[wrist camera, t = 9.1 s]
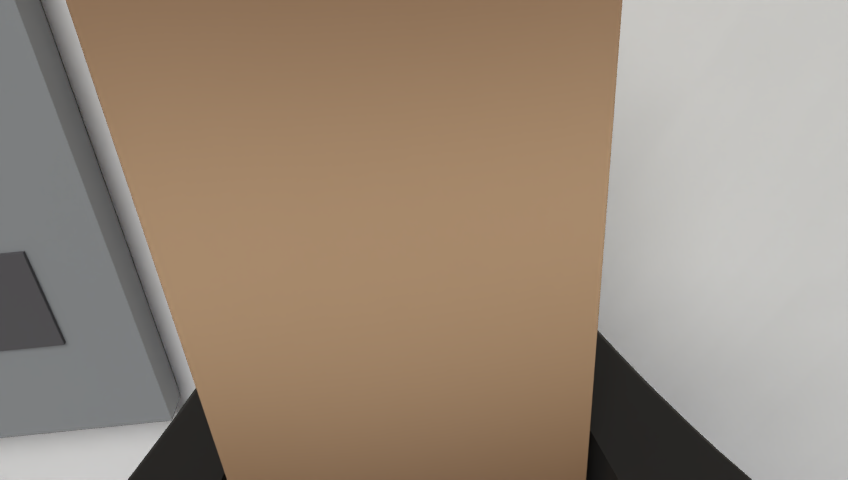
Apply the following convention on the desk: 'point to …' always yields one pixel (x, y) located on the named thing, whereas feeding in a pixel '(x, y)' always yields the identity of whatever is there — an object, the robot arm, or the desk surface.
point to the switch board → (64, 260)
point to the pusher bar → (373, 222)
